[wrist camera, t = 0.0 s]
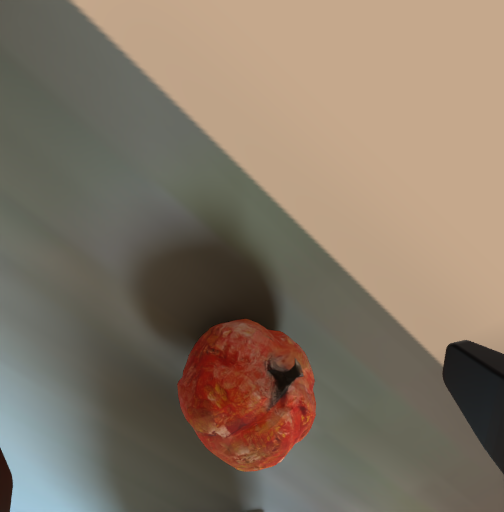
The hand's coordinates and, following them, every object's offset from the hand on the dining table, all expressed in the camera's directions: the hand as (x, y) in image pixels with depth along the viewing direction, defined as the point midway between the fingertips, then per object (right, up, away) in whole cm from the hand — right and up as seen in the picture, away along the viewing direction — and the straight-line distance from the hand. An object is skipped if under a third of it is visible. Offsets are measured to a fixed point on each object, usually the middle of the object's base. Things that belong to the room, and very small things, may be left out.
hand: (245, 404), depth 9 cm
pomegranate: (-1, -3, +18) cm, 18 cm away
